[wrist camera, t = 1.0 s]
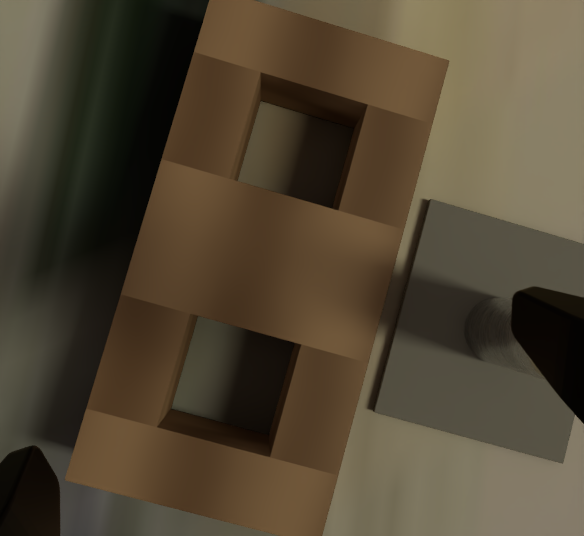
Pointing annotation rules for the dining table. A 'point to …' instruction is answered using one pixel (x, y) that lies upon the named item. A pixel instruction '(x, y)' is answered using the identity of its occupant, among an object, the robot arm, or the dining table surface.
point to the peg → (497, 337)
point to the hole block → (260, 270)
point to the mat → (451, 333)
